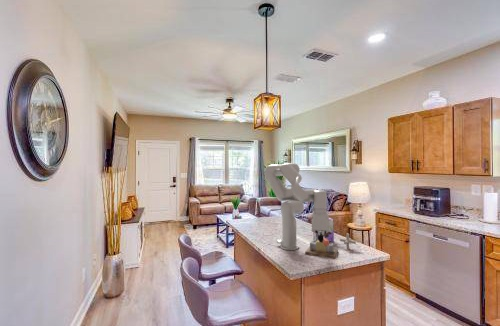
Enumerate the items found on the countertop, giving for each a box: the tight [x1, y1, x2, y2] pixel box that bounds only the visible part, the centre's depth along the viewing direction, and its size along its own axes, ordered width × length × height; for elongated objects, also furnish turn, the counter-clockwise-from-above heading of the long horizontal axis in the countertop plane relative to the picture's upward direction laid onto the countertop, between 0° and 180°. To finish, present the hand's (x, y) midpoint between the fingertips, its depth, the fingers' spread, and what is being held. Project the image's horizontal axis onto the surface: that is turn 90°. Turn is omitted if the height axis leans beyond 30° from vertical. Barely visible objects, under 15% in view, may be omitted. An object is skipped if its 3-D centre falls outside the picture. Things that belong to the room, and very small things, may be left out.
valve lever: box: [322, 236, 330, 246], centre depth 157 cm, size 13×3×3 cm, turn 179°
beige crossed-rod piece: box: [339, 233, 357, 250], centre depth 169 cm, size 10×10×10 cm
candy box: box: [312, 217, 335, 243], centre depth 187 cm, size 14×6×16 cm, turn 101°
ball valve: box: [309, 240, 335, 253], centre depth 161 cm, size 14×6×7 cm, turn 63°
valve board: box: [304, 246, 339, 260], centre depth 161 cm, size 18×13×2 cm
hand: (320, 241), depth 153 cm, fingers closed
